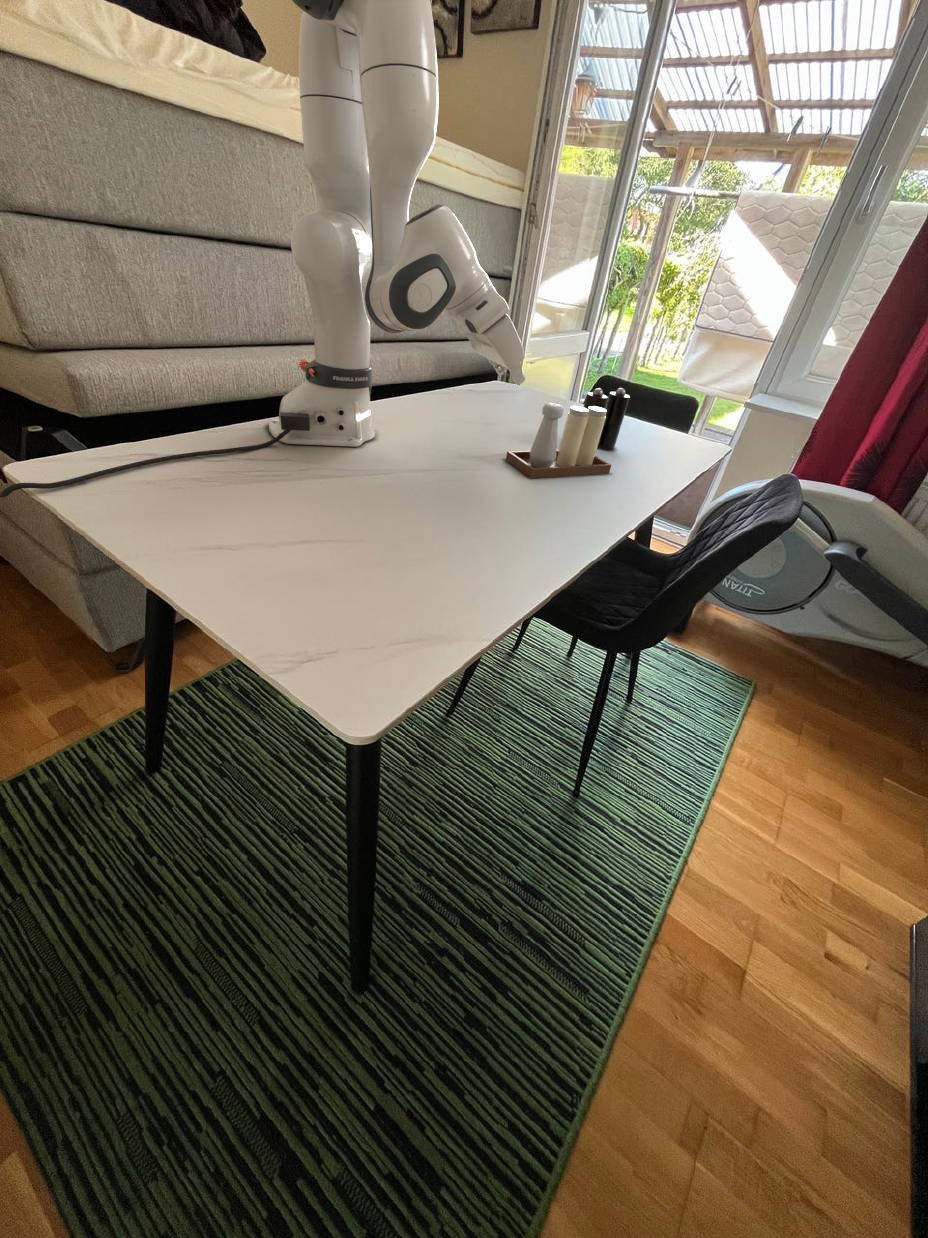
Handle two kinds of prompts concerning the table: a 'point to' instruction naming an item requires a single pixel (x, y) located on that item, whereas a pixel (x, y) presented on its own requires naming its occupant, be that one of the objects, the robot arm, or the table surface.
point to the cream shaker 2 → (591, 435)
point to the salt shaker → (546, 437)
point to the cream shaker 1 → (572, 436)
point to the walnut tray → (554, 466)
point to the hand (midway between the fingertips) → (511, 377)
